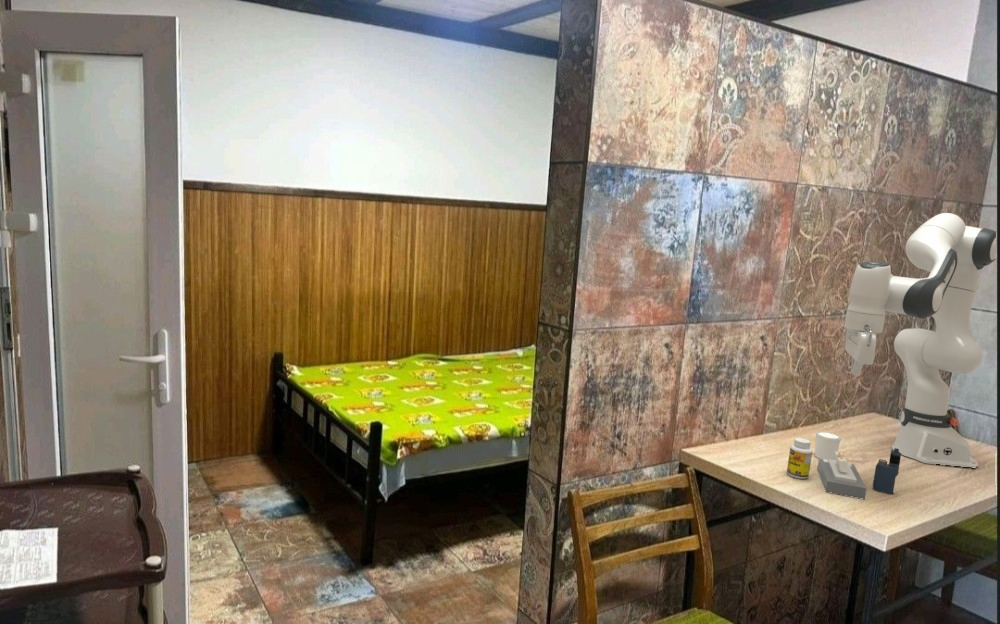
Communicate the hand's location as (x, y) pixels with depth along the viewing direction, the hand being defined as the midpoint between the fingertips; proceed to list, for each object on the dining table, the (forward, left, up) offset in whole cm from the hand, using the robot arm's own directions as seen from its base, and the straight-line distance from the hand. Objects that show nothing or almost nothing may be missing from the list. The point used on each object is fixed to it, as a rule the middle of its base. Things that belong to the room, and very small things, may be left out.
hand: (855, 375), depth 174 cm
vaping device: (-11, 0, -30) cm, 32 cm away
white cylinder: (+1, -21, -30) cm, 36 cm away
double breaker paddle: (0, 0, -26) cm, 26 cm away
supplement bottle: (+10, 0, -30) cm, 32 cm away
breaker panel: (0, 0, -30) cm, 30 cm away
